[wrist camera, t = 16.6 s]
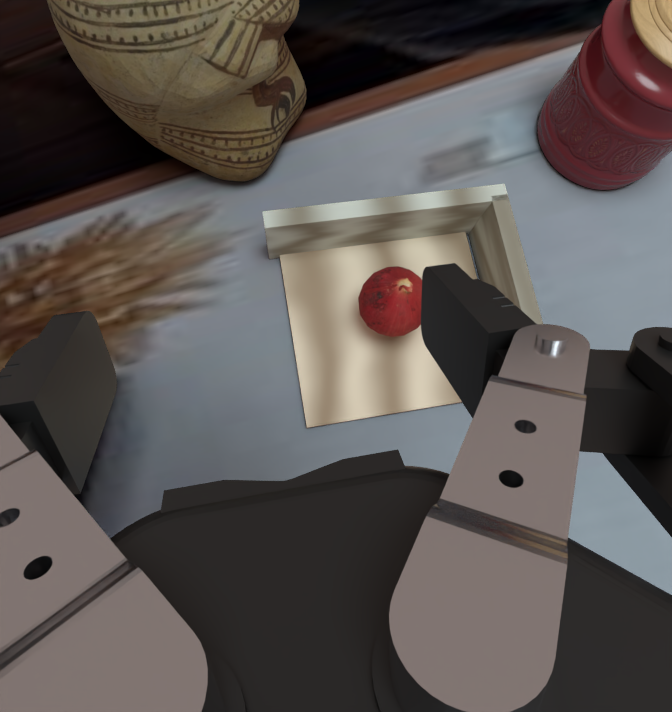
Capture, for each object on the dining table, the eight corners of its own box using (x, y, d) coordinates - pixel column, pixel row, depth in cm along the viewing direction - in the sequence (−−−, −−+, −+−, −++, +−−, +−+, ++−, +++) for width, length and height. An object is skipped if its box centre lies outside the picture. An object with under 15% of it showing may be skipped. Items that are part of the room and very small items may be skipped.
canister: (596, 217, 49) (758, 81, 32) (508, 127, 51) (616, -47, 33) (676, 148, 52) (864, -10, 35) (589, 66, 53) (728, -125, 36)
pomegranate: (358, 349, 43) (372, 323, 35) (349, 289, 44) (361, 250, 37) (421, 342, 44) (448, 315, 36) (411, 283, 45) (435, 244, 37)
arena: (296, 435, 42) (295, 430, 36) (266, 244, 45) (262, 211, 40) (525, 397, 44) (560, 386, 38) (479, 218, 48) (504, 183, 42)
